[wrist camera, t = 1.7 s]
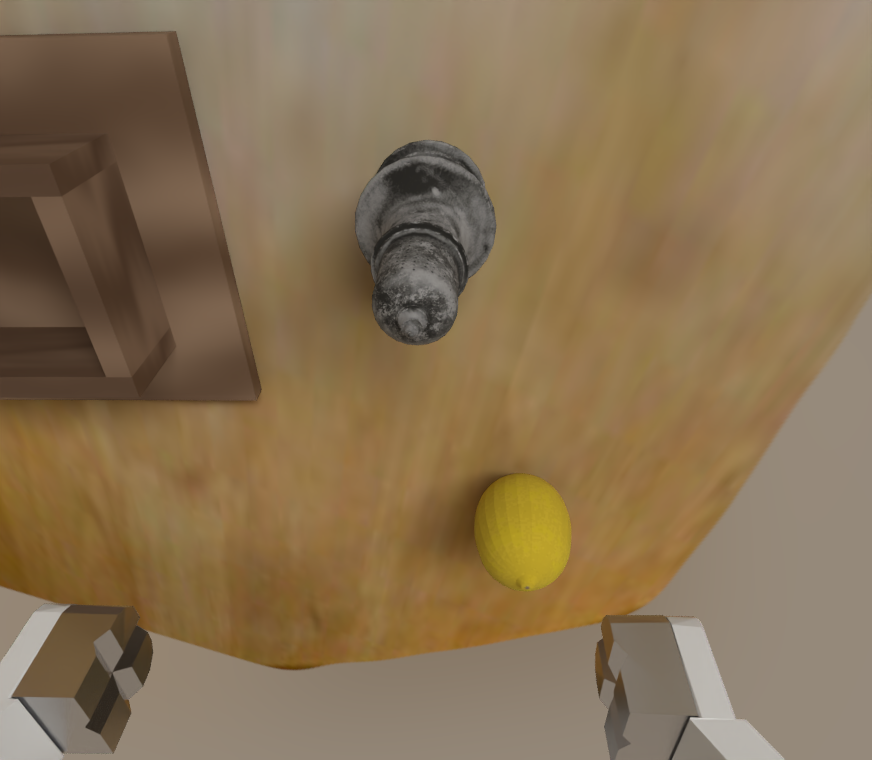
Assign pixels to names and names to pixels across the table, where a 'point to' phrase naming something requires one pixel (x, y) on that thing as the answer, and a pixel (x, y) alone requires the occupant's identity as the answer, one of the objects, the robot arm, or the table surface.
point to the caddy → (111, 228)
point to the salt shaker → (423, 237)
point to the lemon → (522, 532)
